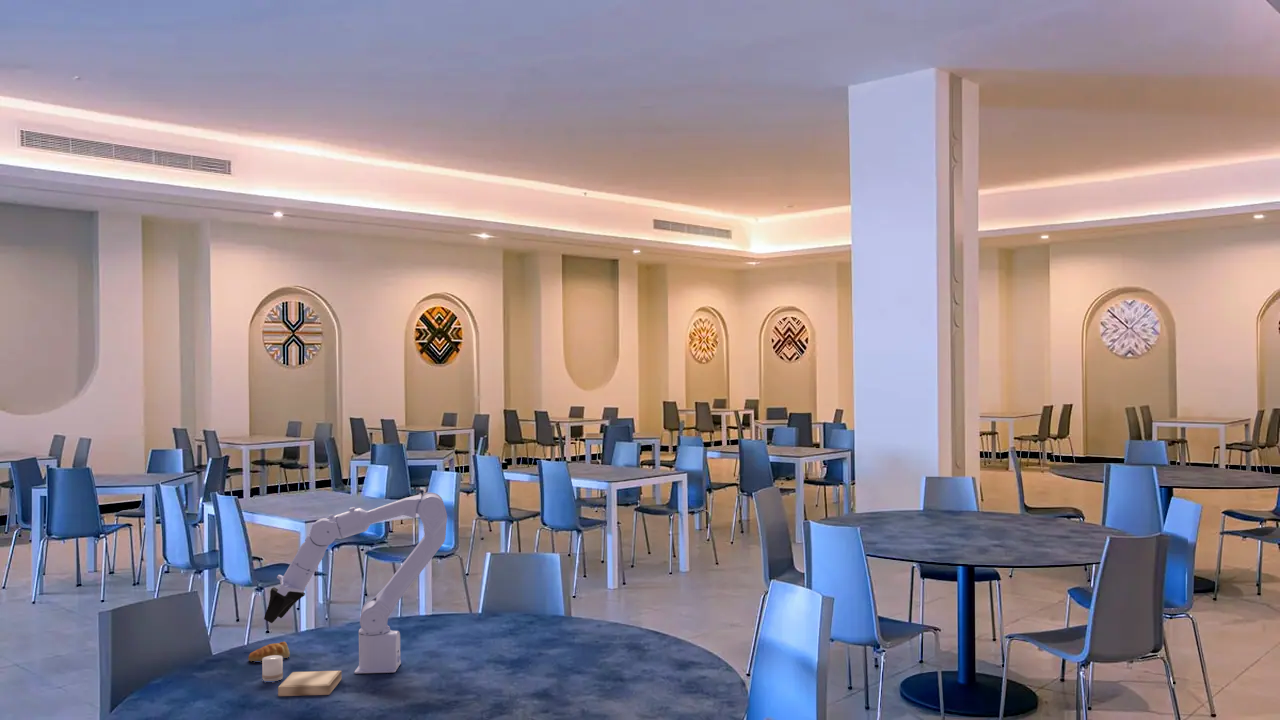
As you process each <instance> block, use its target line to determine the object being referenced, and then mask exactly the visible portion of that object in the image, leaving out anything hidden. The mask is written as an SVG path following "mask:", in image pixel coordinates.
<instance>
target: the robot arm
mask: <svg viewBox="0 0 1280 720" xmlns="http://www.w3.org/2000/svg"><path fill="white" fill-rule="evenodd" d="M417 515H418V517H419V518H420V520H421V522H422V524H423V531H424V535H423V537H422V538H421V540H420V541H419V542H418V543H417V545H415V547H414V548H413V550H412V551H411V552H410V554H409V555H408V556H407V558H406V559H405V560H404V561H403V563H402V564H401V565H400V566H399V567H398V569H397V570H396V571H395V573H394V574H393V576H392V577H391V578H389V580H388V582H386V584H385V586H384V587H382V589H380V591H379V592H377V594H376V595H375V596H374V597H373V598H372V599H369V600H367V601H366V602H365V603H364V604H363V605H362V607H361V611H360V614H361V615H360V617H359V626H360V628H359V629H358V666H357V668H355V670H354V674H386V673H387V674H388V673H389V674H390V673H396V671H397V670H398V668H399V666H400V665H401V664H402V661H401V633H400V631H399V630H392V629H391V627H390V626H389V625H388V620H389V617H390V615H391V614H392V613H393V611H394V609H395V607H396V606H397V604H398V602H399V601H400V599H401V598H402V597H403V596H404V595H405V593H406V592H407V591H408V590H409V588H410V587H411V586H412V584H413V583H414V582H415V581H416V579H417V578H418V577H419V575H421V572H423V570H424V569H425V568H426V566H427V565H428V564H429V563H430V561H431V560H432V559H433V557H434V556H435V555H436V554H437V552H438V551H439V549H440V548H441V547H442V546H443V544H444V543H445V541H446V535H447V533H446V532H447V520H448V513H447V510H446V506H445V503H444V500H443V498H442V497H441V496H440V494H438V493H435V492H426V493H424V494H416V495H412V496H409V497H408V496H407V497H404V498H401V499H399V500H397V501H393V502H390V503H387V504H384V505H381V506H378V507H376V508H373V509H369V510H366V509H363V508H361V507H358V508H356V507H355V506H352V507H349V509H348V511H345V512H342V513H338V514H336V515H335V514H332V513H331V514H328V518H327V517H324V518H318V520H316V521H315V522H314V523H313V524H312V526H311V527H310V528H311V529H310V533H309V534H308V535H307V536H306V538H305V540H304V542H302V543H301V546H300V547H299V549H298V550H297V552H296V554H295V556H294V557H293V558H292V561H291V562H290V564H289V566H288V568H287V569H286V571H285V573H284V574H283V575H282V574H278V575H277V576H276V579H277V580H279V581H280V582H279V583H280V586H279V588H277V587H275V586H274V587H272V588H271V589H270V592H269V601H268V606H267V609H266V610H265V614H264V616H263V620H265V621H267V622H268V623H269V624H273V623H274V622H275V621H276V619H278V618H279V619H283V618H284V616H285V615H286V614H287V613H288V611H290V609H291V608H292V607H293V606H294V605H295V604H296V603H297V602H298V601H299V600H300V599H301V598H303V597H305V596H306V593H305V591H306V587H307V585H308V584H309V582H310V580H311V578H312V577H313V575H314V574H315V572H316V570H317V568H318V566H319V565H320V564H321V562H322V560H323V558H324V557H325V554H326V550H327V549H328V548H329V545H332V544H333V543H334V542H335V540H336V539H339V540H341V539H345V538H348V537H351V536H354V535H358V534H361V533H365V532H367V531H368V529H369V528H370V525H372V524H375V523H378V522H379V523H380V522H382V521H386V520H390V519H392V518H393V519H394V518H397V517H400V516H406V517H410V518H414V519H416V518H417Z"/></svg>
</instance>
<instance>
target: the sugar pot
mask: <svg viewBox="0 0 1280 720" xmlns="http://www.w3.org/2000/svg"><path fill="white" fill-rule="evenodd" d="M283 660H284V659H283V657H282V656H280V655H272V656H267V657H264V658H263V659H262V662H261V663H262V664H261V666H262V673H261V677H262V679H263V680H264V681H278V680H281V679H282V680H283V679H284V678H283V677H284V672H283V671H284V669H283V668H284V666H283V665H284V662H283ZM263 680H262V681H263ZM282 680H281V681H282ZM278 682H279V681H278Z"/></svg>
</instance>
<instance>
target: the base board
mask: <svg viewBox="0 0 1280 720" xmlns="http://www.w3.org/2000/svg"><path fill="white" fill-rule="evenodd" d="M342 672H343V671H342V670H321V671H320V670H318V671H317V670H316V671H315V670H313V671H292V672H291V673H290V674H289V676H287V677H286V678H285V679H284V680H283V681H282V682H281V684H280V685H279V686H277V697H293V696H296V697H297V696H327V695H328V696H329V695H331V693H332V692H333V691H334V689H335V688H336V687H337V686H338V684H339V683H340V682H341V681H342V677H343V676H342Z"/></svg>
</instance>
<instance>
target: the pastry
mask: <svg viewBox="0 0 1280 720" xmlns="http://www.w3.org/2000/svg"><path fill="white" fill-rule="evenodd" d="M272 655H280V656H282V657H283V658H287V659H289V658H290V656H291V654H290V649H289V645H288V644H287V642H286V641H280V642H277V643H275V642H274V643H269V644H267V645H264V646H262V647H260V648H257V649H255V650H254V651H251V652H250V653H249V655H248V659H247V660H248V661H249V662H252V661H262V659H263V658H264V657H267V656H272ZM288 657H289V658H288Z"/></svg>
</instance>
